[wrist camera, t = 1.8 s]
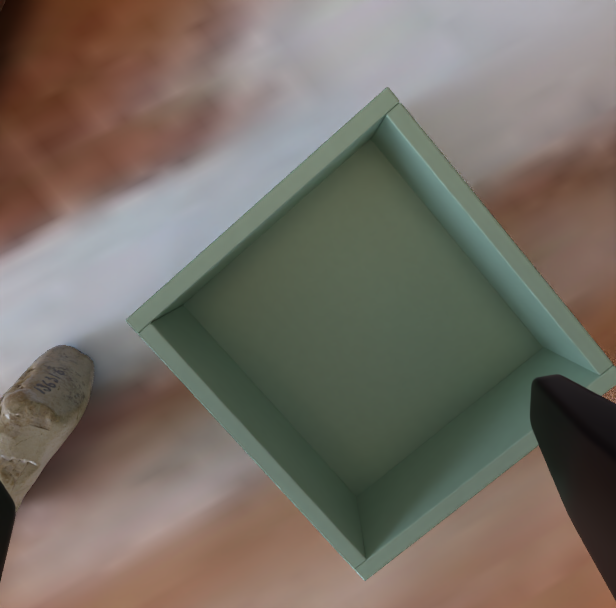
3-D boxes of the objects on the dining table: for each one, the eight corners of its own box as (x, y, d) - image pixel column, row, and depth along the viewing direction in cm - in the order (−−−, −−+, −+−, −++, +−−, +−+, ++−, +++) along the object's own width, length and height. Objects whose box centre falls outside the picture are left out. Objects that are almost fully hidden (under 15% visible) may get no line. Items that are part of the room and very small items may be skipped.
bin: (554, 344, 23) (625, 378, 18) (353, 505, 24) (364, 582, 19) (370, 120, 22) (387, 85, 17) (167, 300, 23) (124, 320, 18)
